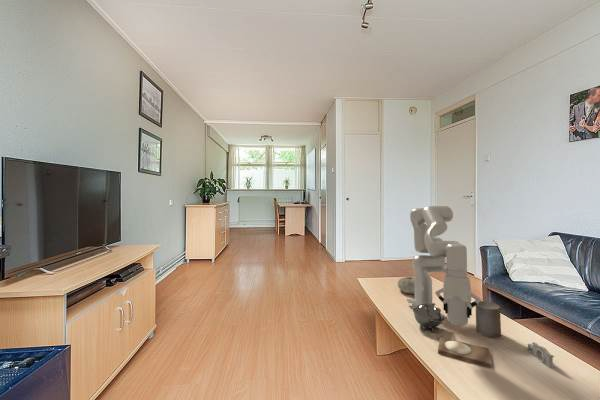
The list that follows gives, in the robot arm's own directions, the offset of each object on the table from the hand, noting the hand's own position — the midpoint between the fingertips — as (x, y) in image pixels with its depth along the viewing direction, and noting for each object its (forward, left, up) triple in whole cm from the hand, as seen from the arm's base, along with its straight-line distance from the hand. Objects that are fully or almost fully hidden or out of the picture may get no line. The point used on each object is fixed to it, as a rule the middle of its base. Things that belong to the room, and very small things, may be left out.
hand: (457, 314), depth 108 cm
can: (0, 0, -4) cm, 4 cm away
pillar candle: (+12, +25, -16) cm, 32 cm away
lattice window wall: (+28, +11, -16) cm, 34 cm away
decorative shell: (-29, +65, -16) cm, 73 cm away
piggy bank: (-13, +16, -16) cm, 26 cm away
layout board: (+2, 0, -16) cm, 16 cm away
